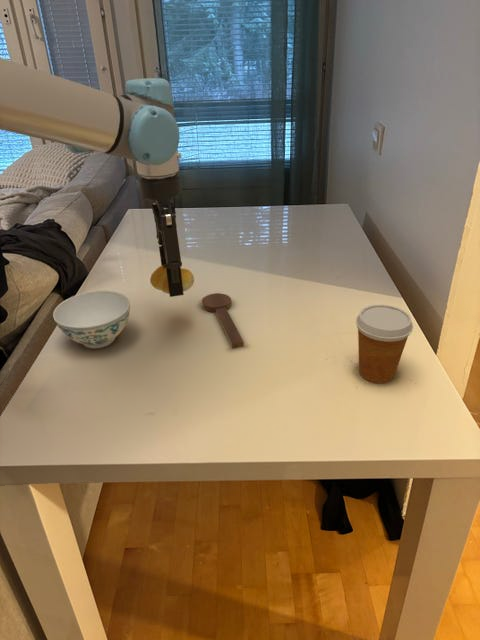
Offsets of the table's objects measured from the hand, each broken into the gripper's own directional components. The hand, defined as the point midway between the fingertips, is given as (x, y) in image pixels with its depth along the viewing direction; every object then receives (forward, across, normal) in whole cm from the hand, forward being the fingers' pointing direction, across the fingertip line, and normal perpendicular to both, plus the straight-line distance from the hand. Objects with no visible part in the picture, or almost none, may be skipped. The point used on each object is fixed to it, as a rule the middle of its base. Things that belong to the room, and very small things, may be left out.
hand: (172, 284), depth 96 cm
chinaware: (+10, 0, +17) cm, 20 cm away
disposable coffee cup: (+11, -28, -32) cm, 44 cm away
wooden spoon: (+10, -1, -10) cm, 15 cm away
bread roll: (0, 0, 0) cm, 0 cm away
